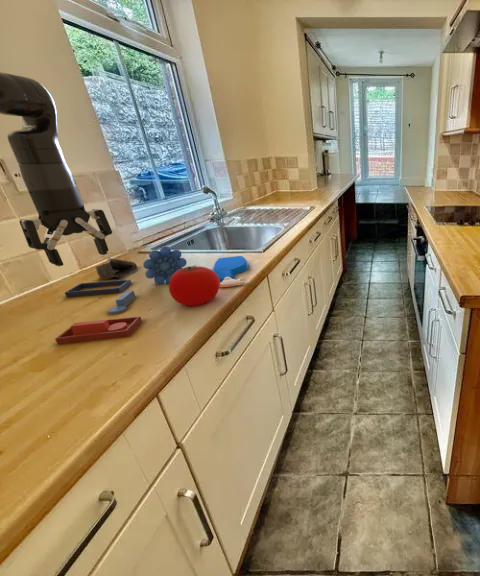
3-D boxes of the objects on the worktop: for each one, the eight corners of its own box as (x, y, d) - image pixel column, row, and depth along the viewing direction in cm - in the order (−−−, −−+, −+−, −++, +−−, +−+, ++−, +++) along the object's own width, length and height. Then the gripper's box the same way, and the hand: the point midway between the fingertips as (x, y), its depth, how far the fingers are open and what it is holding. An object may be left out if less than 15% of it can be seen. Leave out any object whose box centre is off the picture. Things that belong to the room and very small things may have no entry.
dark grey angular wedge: (118, 270, 113) (86, 255, 102) (138, 263, 114) (107, 248, 102) (119, 294, 110) (86, 281, 99) (139, 287, 110) (108, 274, 99)
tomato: (178, 297, 92) (168, 263, 87) (224, 291, 96) (217, 257, 91) (170, 314, 82) (158, 277, 78) (221, 307, 86) (213, 270, 82)
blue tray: (67, 299, 91) (64, 292, 90) (82, 289, 97) (79, 283, 97) (121, 294, 94) (118, 288, 93) (132, 285, 100) (130, 279, 99)
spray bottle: (213, 258, 115) (209, 283, 94) (246, 254, 118) (248, 278, 98) (215, 266, 116) (211, 292, 95) (247, 262, 120) (250, 286, 99)
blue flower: (192, 275, 107) (183, 241, 102) (191, 283, 101) (181, 246, 97) (151, 281, 103) (140, 245, 98) (147, 289, 97) (135, 251, 92)
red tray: (58, 346, 69) (54, 338, 68) (78, 330, 75) (75, 322, 75) (129, 338, 72) (126, 330, 71) (143, 323, 78) (140, 316, 77)
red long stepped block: (131, 325, 76) (127, 315, 75) (123, 333, 73) (119, 323, 72) (82, 331, 74) (77, 320, 73) (72, 339, 71) (67, 328, 70)
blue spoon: (123, 314, 82) (119, 305, 81) (107, 316, 81) (103, 306, 80) (140, 298, 91) (137, 289, 90) (126, 299, 90) (123, 291, 89)
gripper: (82, 182, 74) (107, 249, 80) (-5, 189, 62) (33, 267, 69) (101, 183, 71) (125, 252, 78) (14, 191, 59) (51, 272, 66)
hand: (82, 259), depth 73 cm, fingers open, 8 cm apart
